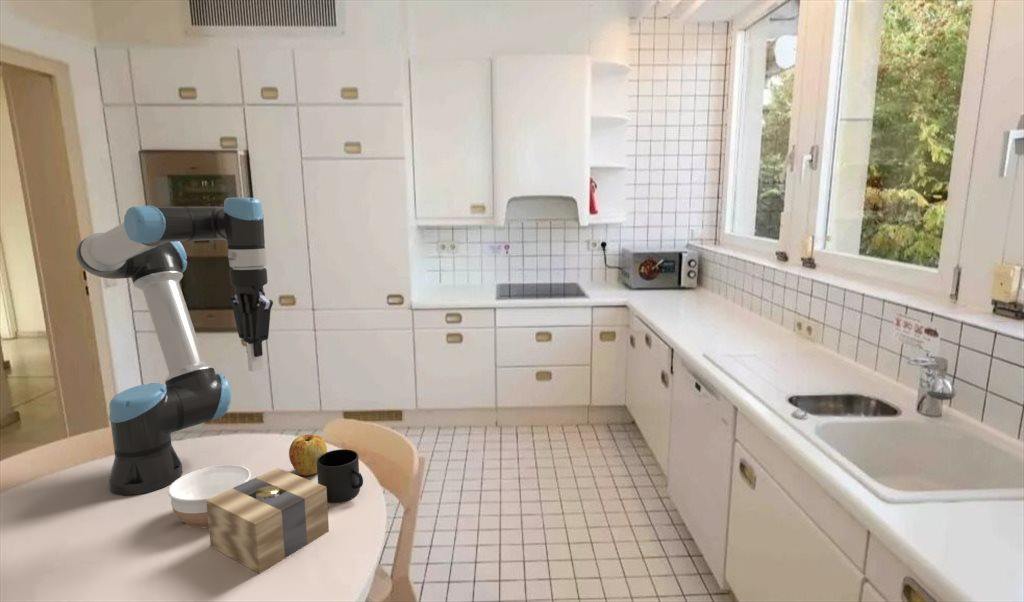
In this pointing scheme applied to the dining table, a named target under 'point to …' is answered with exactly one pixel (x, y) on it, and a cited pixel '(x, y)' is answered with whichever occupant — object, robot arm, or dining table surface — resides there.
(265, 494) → the peg
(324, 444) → the apple
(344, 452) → the mug
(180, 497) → the bowl
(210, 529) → the socket block
